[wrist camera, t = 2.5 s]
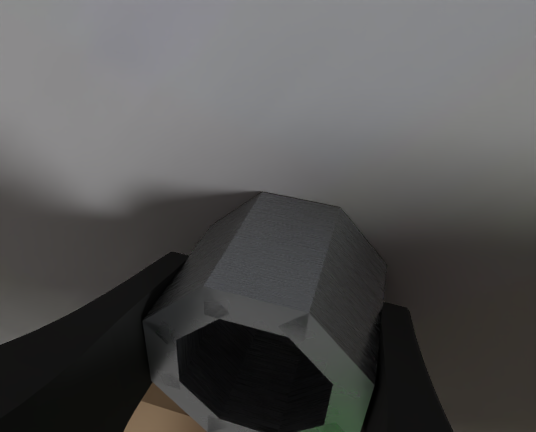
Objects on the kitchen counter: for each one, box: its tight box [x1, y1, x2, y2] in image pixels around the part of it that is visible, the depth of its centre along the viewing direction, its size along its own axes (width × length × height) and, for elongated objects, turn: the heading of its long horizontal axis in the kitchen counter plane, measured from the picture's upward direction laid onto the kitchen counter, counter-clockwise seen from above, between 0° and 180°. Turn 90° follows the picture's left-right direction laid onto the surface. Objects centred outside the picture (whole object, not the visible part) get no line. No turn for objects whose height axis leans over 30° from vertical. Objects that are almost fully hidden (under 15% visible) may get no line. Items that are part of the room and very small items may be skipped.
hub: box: [143, 192, 387, 432], centre depth 12 cm, size 5×5×4 cm
